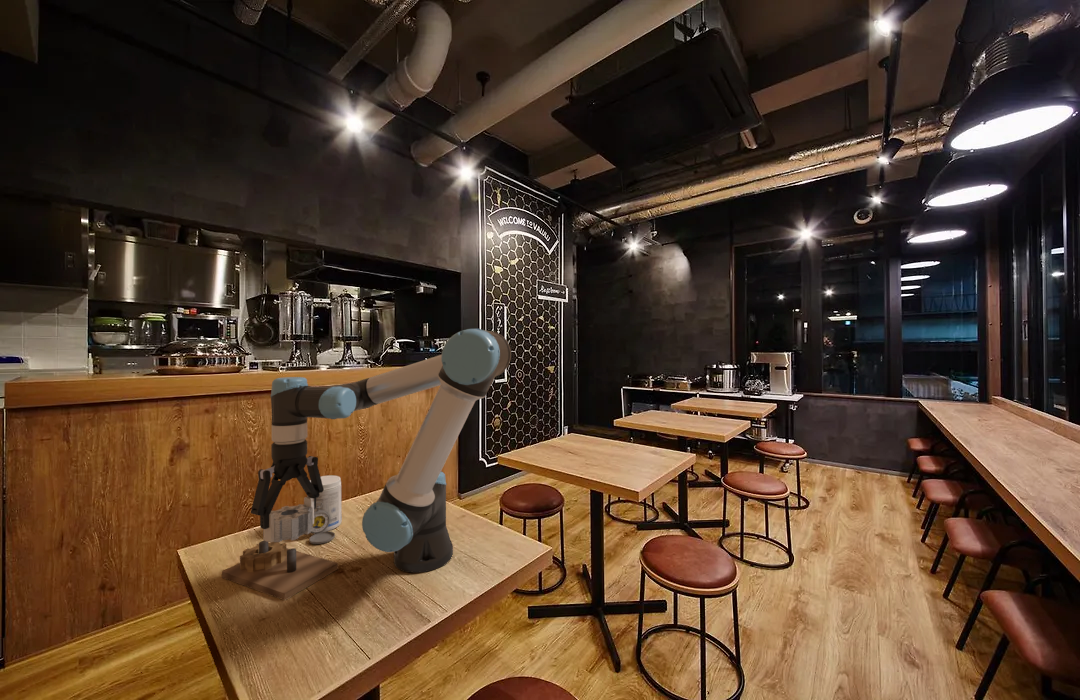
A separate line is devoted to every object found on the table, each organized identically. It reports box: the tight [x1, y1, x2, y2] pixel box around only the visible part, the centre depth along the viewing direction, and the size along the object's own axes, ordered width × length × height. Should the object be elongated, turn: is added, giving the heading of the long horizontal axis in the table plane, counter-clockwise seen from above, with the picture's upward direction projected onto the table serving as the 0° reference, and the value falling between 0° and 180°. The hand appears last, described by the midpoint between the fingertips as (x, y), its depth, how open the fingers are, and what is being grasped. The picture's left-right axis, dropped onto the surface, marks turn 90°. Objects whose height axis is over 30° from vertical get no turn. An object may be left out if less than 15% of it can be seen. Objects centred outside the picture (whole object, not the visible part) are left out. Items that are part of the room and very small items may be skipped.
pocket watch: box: [308, 502, 336, 545], centre depth 121 cm, size 8×8×10 cm
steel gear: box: [271, 503, 313, 543], centre depth 101 cm, size 10×10×5 cm
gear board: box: [221, 540, 339, 601], centre depth 103 cm, size 23×14×6 cm, turn 66°
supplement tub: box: [306, 475, 343, 532], centre depth 129 cm, size 10×10×15 cm
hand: (289, 531), depth 101 cm, fingers closed on steel gear, 10 cm apart
